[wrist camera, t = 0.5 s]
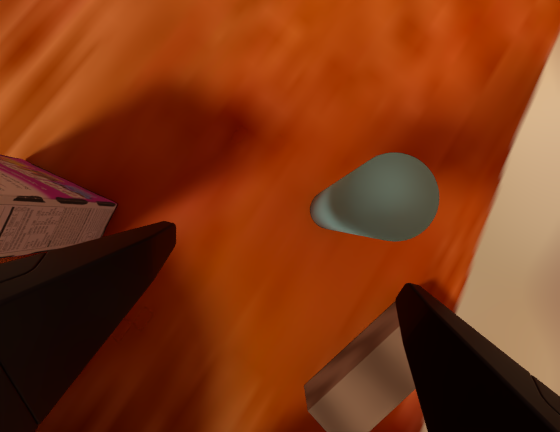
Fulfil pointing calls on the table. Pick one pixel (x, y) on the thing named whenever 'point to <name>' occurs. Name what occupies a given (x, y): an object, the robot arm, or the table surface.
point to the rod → (380, 199)
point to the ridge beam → (362, 379)
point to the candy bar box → (46, 210)
